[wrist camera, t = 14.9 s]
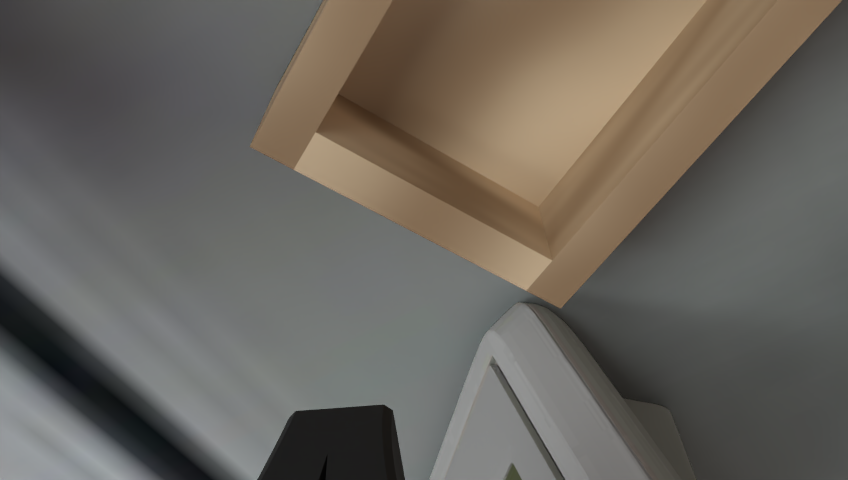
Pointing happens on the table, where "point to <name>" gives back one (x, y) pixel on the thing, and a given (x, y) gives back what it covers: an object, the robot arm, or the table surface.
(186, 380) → the table surface
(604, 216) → the pencil box
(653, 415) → the digital clock
